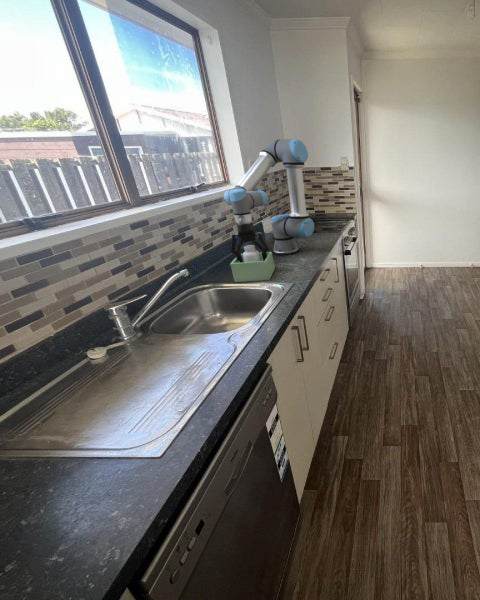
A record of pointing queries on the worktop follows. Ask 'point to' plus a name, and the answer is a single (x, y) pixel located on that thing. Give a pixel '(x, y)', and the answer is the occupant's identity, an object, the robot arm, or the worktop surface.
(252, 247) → the pill bottle
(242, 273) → the bin
